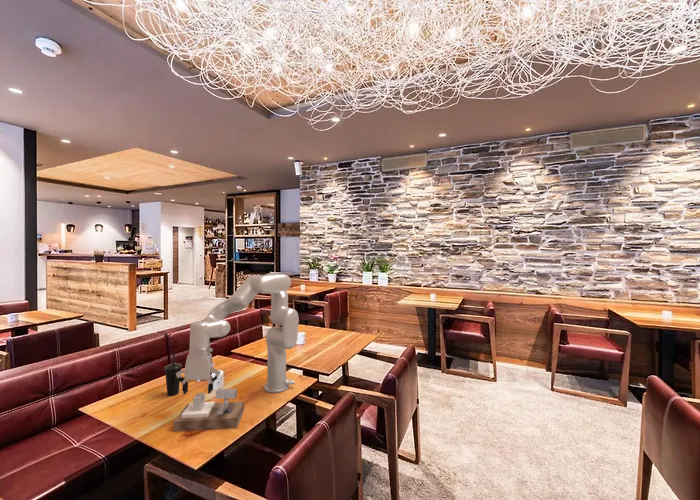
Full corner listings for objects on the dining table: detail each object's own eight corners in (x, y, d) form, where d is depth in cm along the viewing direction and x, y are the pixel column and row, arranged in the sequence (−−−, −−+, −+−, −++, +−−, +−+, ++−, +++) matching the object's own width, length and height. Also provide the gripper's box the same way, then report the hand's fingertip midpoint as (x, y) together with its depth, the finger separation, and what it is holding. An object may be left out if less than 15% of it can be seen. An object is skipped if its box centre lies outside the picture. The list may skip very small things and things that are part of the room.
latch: (217, 407, 134) (218, 388, 134) (236, 407, 134) (237, 388, 134) (209, 417, 126) (209, 397, 126) (229, 417, 126) (229, 397, 126)
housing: (244, 410, 140) (244, 400, 140) (237, 427, 126) (237, 417, 126) (187, 413, 137) (187, 403, 137) (173, 431, 123) (173, 420, 123)
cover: (214, 404, 137) (215, 390, 137) (207, 417, 127) (207, 401, 127) (190, 406, 136) (190, 391, 136) (181, 418, 126) (181, 402, 126)
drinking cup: (185, 391, 158) (185, 352, 158) (172, 398, 150) (172, 356, 150) (173, 389, 160) (174, 350, 160) (160, 395, 153) (160, 354, 153)
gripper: (223, 348, 136) (221, 388, 136) (181, 348, 134) (179, 389, 133) (218, 353, 129) (216, 395, 128) (173, 354, 126) (171, 397, 126)
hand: (197, 392), depth 131 cm, fingers open, 9 cm apart
